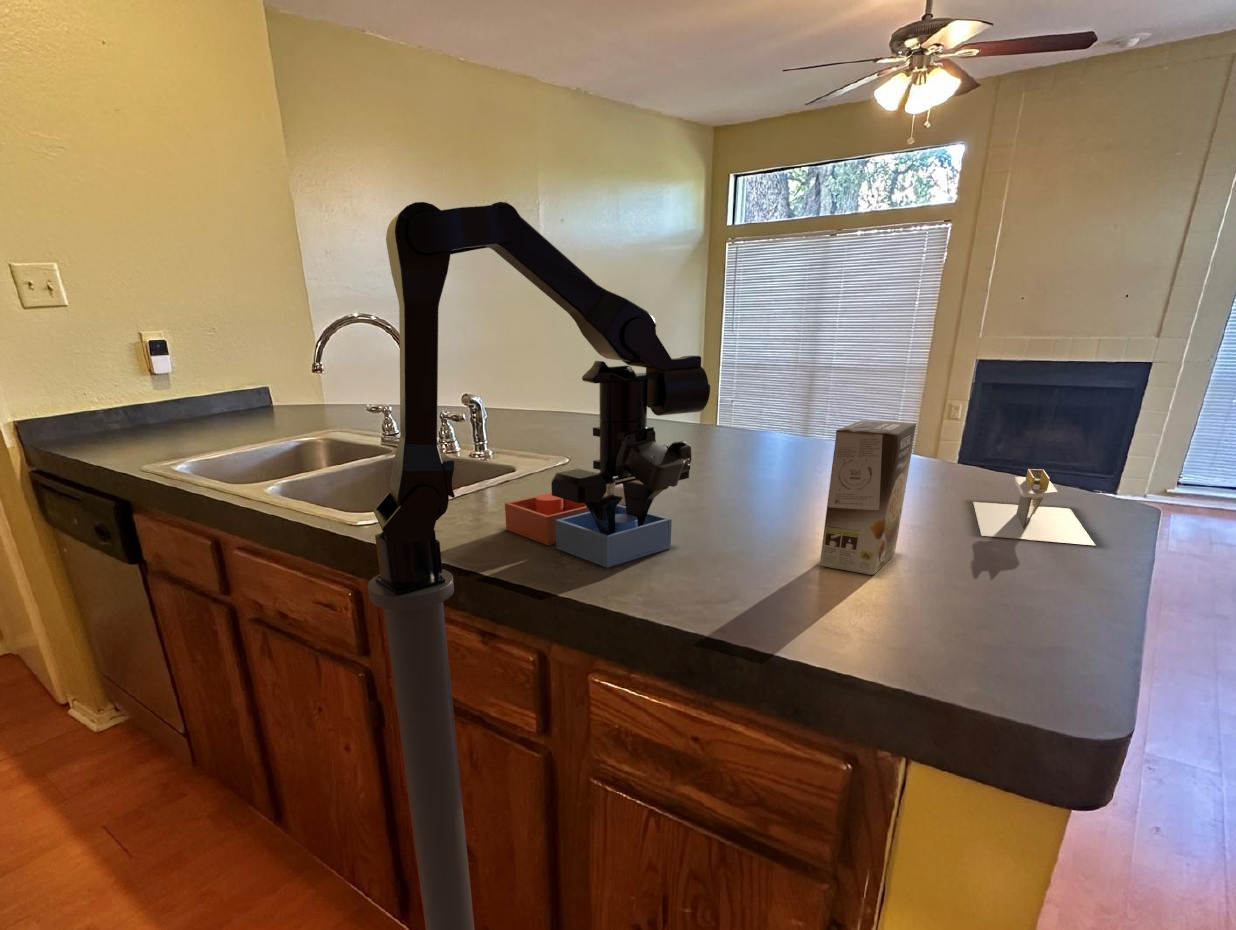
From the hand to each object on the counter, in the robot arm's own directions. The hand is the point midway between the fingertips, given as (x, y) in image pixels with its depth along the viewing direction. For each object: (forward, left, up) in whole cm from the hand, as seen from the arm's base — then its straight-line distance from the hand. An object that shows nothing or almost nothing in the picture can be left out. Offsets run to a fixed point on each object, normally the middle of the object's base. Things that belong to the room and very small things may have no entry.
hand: (622, 541), depth 90 cm
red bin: (0, +14, -1) cm, 14 cm away
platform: (+49, -28, -2) cm, 57 cm away
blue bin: (0, +2, -1) cm, 2 cm away
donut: (+15, +20, -2) cm, 26 cm away
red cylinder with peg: (0, +14, -1) cm, 14 cm away
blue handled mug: (0, +2, -1) cm, 2 cm away
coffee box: (+18, -22, -2) cm, 29 cm away
